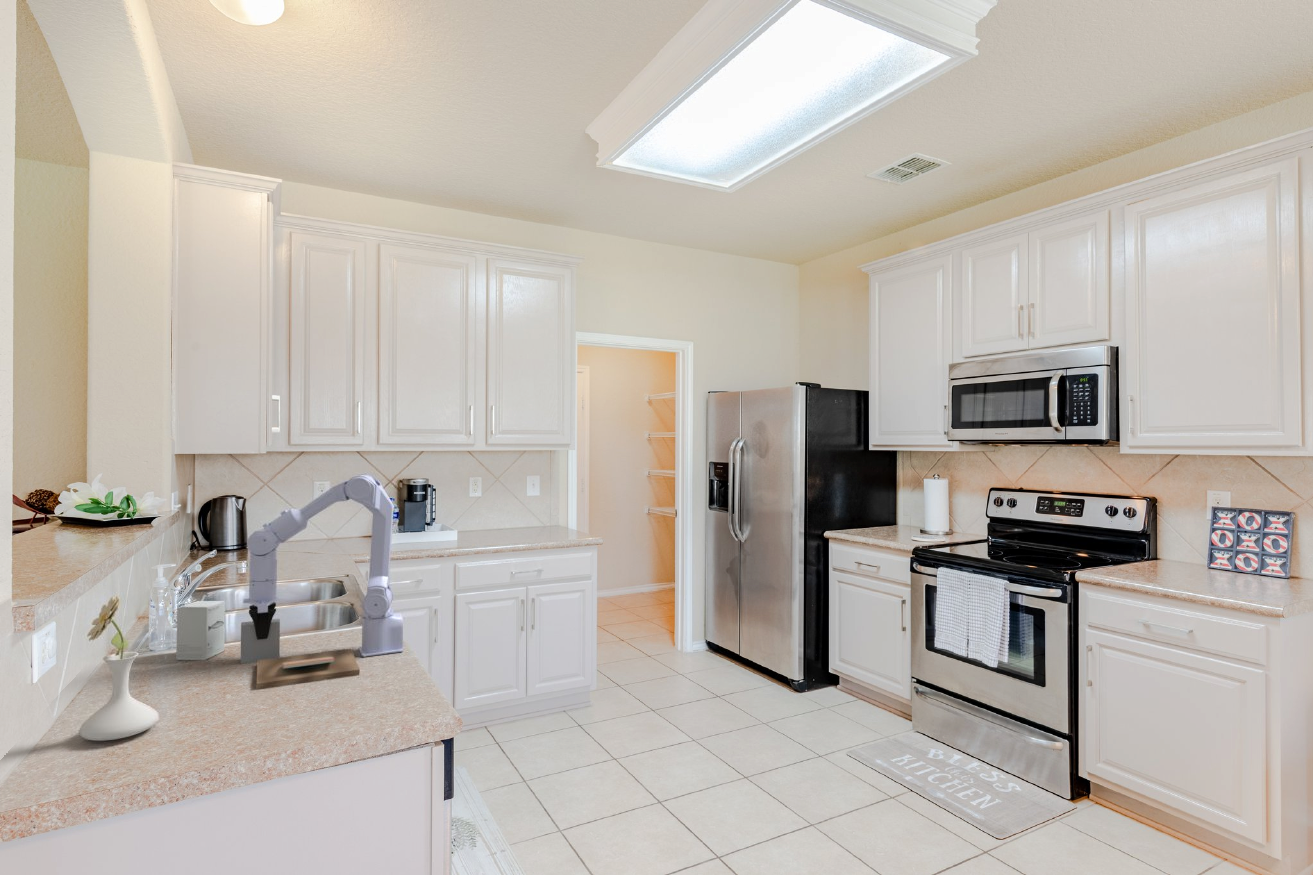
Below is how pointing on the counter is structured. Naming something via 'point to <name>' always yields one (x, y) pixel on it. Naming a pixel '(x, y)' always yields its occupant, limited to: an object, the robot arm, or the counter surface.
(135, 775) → the counter surface
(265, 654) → the grey rectangular block
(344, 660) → the board
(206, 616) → the supplement box
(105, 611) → the flower in vase
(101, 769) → the counter surface
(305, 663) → the tile
